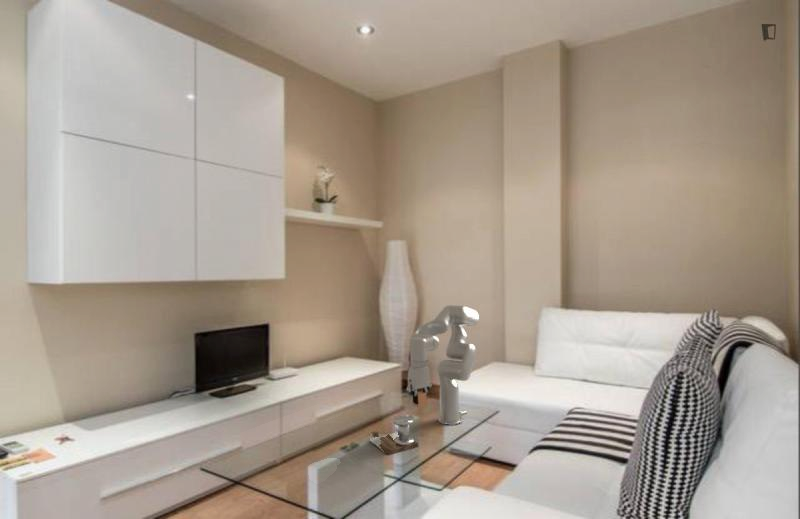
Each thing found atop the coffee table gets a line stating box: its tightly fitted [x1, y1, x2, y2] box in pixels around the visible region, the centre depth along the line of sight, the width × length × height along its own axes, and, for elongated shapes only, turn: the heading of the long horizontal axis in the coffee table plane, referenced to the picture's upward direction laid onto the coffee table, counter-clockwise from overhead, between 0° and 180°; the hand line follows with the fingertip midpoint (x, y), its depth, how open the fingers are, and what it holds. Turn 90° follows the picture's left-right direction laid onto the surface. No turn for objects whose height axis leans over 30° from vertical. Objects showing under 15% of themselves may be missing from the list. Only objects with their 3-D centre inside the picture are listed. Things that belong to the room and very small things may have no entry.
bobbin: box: [393, 415, 415, 446], centre depth 204 cm, size 9×9×10 cm
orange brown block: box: [413, 390, 428, 409], centre depth 210 cm, size 4×4×6 cm
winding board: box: [371, 430, 419, 456], centre depth 206 cm, size 16×18×4 cm
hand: (419, 402), depth 210 cm, fingers closed on orange brown block, 4 cm apart
